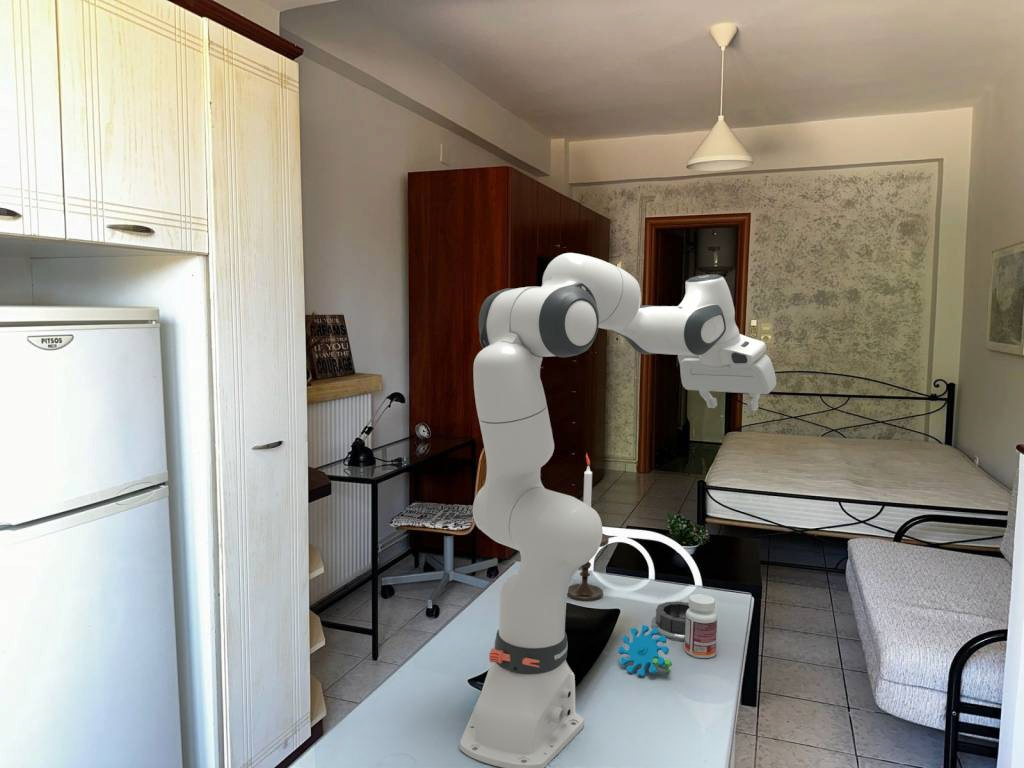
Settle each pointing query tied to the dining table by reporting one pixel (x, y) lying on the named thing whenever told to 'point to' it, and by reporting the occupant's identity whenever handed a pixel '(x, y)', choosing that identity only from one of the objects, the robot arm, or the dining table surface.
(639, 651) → the gear
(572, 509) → the robot arm
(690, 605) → the pill bottle
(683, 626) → the notched hollow ring
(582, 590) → the candlestick
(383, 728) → the dining table surface
